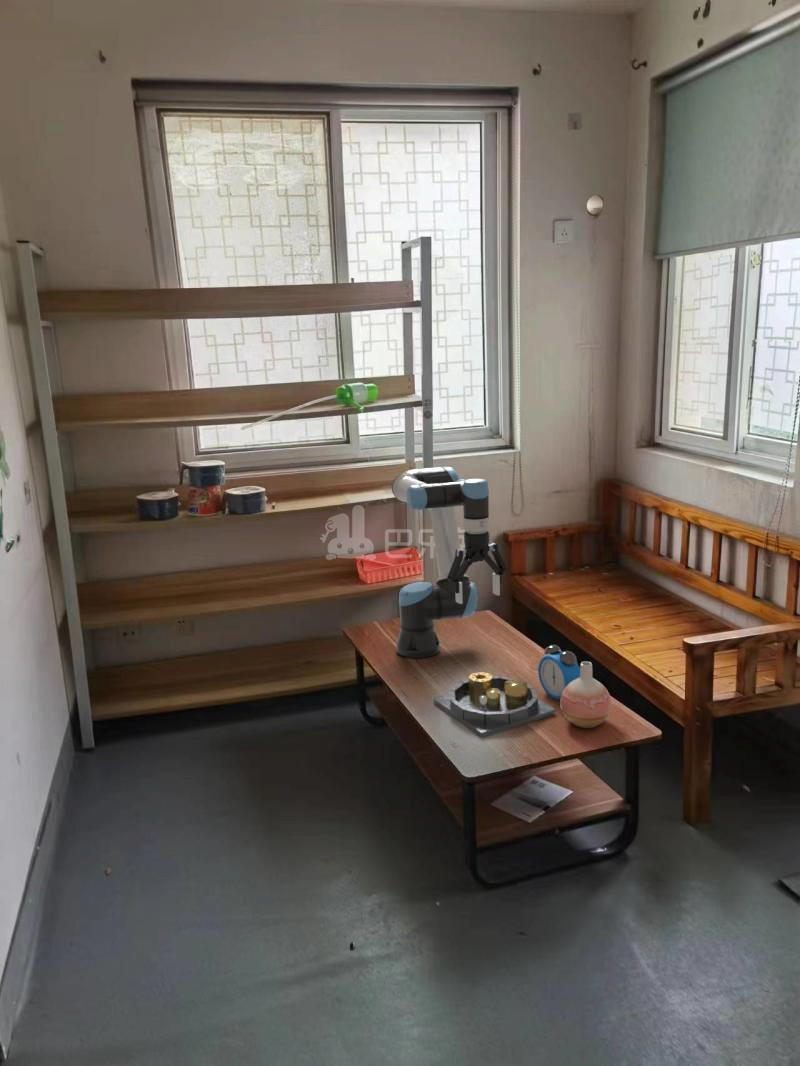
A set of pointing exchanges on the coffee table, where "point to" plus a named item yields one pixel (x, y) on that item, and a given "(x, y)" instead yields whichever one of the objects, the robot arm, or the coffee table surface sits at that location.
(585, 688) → the vase
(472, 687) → the octagonal brass tube
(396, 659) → the coffee table surface
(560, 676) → the alarm clock
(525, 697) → the carrier
